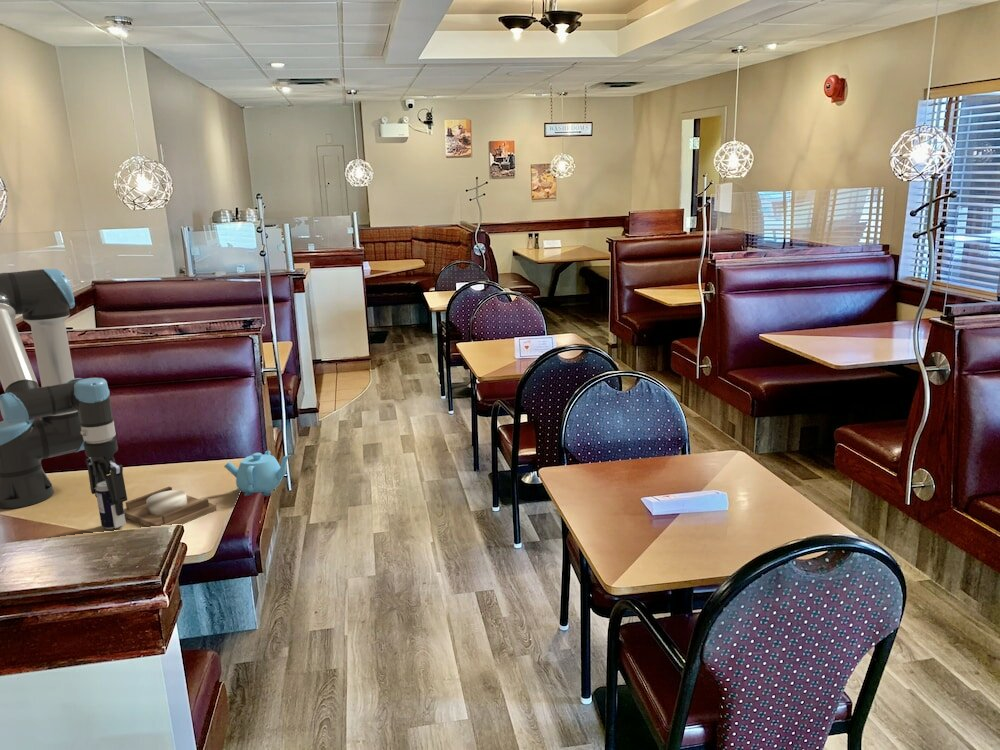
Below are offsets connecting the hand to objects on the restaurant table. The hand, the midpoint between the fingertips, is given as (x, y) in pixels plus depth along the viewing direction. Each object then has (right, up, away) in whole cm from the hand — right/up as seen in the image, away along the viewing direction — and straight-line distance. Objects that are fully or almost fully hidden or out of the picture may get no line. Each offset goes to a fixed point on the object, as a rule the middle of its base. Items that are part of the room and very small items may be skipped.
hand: (113, 522), depth 202 cm
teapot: (+32, +5, +22) cm, 39 cm away
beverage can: (0, -1, 0) cm, 1 cm away
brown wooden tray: (+11, +1, +8) cm, 14 cm away
